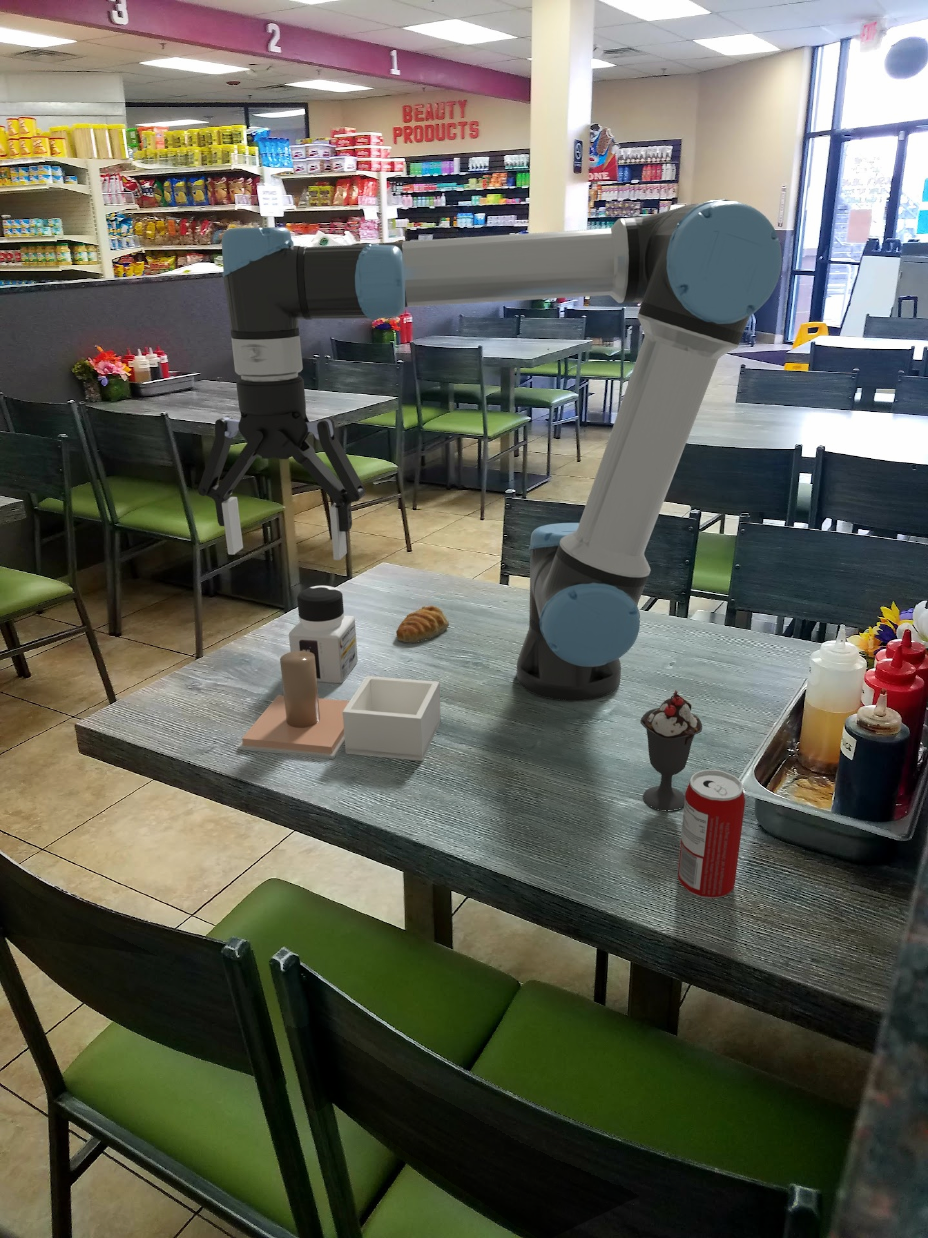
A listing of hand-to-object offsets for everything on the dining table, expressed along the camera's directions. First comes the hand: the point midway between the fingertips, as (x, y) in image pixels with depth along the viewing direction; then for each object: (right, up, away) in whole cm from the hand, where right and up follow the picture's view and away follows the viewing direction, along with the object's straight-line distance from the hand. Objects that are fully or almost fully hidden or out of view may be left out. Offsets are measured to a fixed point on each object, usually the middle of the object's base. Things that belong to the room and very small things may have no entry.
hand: (287, 554), depth 110 cm
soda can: (+46, -35, -20) cm, 61 cm away
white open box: (+13, -23, +7) cm, 27 cm away
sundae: (+45, -29, -7) cm, 54 cm away
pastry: (+15, -11, +38) cm, 42 cm away
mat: (0, -23, +10) cm, 25 cm away
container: (+1, -16, +26) cm, 30 cm away
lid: (0, -22, +9) cm, 24 cm away
